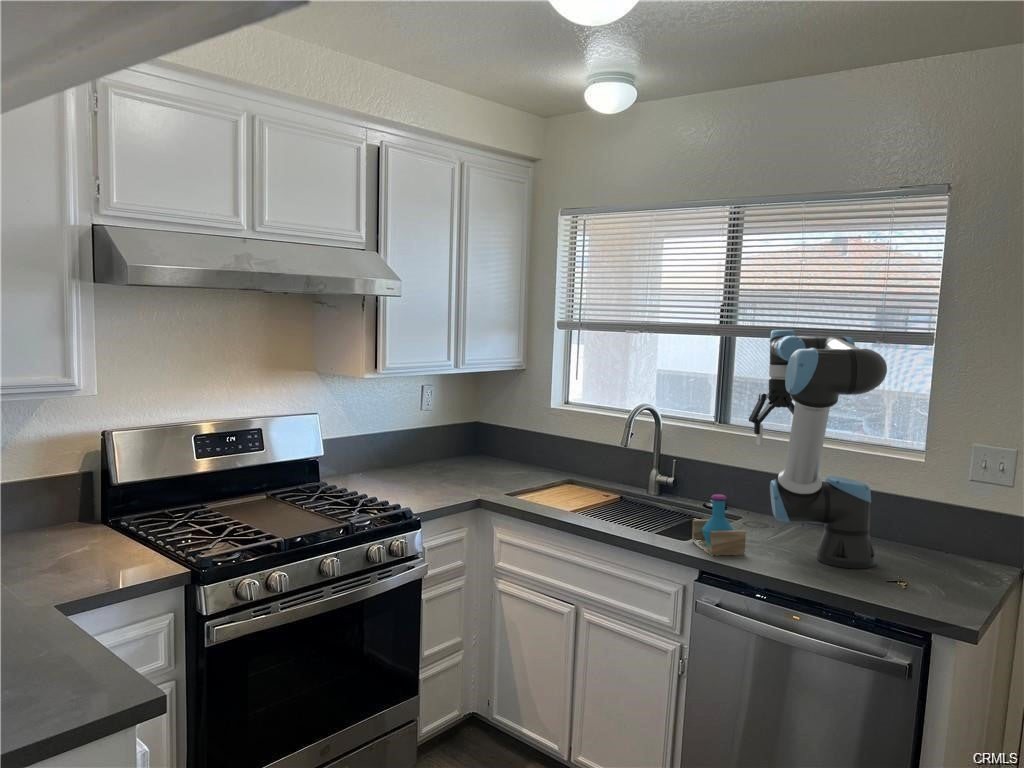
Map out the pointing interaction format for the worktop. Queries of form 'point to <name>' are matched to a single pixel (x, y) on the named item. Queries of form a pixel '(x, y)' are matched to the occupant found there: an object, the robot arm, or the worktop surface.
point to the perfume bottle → (716, 518)
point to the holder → (720, 540)
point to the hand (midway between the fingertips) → (779, 444)
